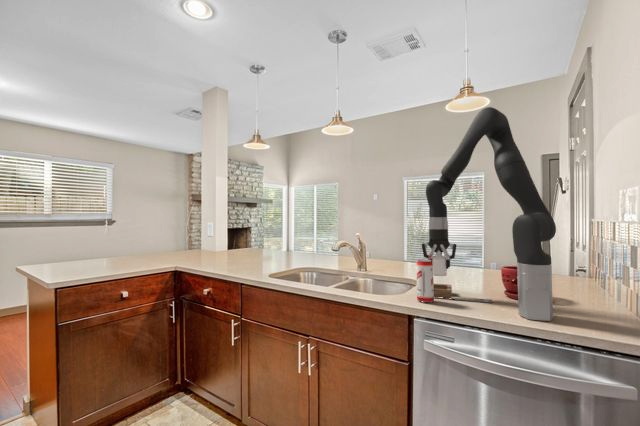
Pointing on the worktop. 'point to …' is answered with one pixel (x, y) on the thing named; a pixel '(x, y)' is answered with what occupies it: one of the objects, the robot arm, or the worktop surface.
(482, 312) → the worktop surface
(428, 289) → the beer can
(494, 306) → the worktop surface
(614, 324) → the worktop surface
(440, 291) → the hammer
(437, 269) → the eye dropper bottle
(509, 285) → the plant pot
